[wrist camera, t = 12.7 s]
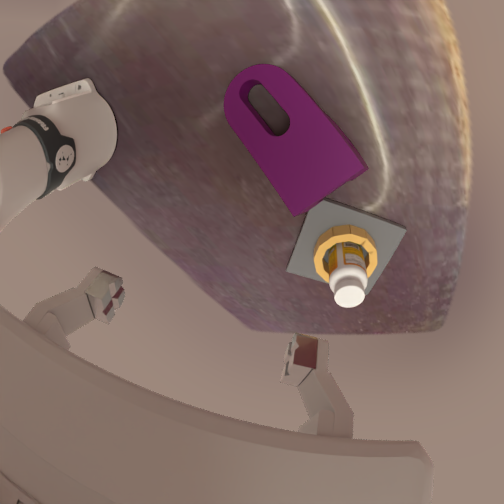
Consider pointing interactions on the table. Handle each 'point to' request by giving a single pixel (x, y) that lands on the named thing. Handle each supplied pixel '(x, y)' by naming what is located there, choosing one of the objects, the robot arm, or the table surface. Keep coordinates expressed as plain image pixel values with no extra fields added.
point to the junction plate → (343, 217)
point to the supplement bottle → (347, 273)
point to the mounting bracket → (292, 139)
